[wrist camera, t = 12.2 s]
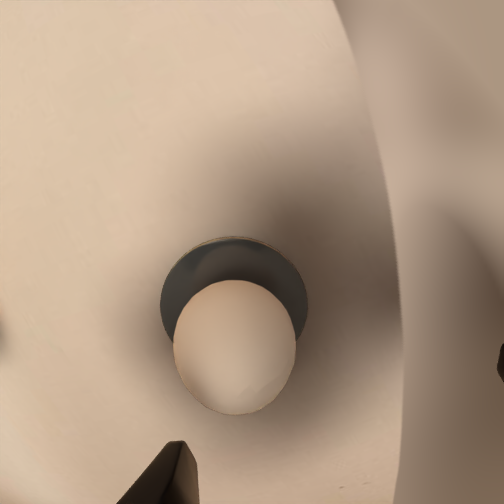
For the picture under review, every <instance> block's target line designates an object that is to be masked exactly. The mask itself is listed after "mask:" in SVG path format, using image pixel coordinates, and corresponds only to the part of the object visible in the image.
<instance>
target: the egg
mask: <svg viewBox="0 0 504 504" xmlns="http://www.w3.org/2000/svg"><path fill="white" fill-rule="evenodd" d="M173 351H174V360H175V363H176V367H177V370H178V372H179V374H180V377H181V379H182V381H183V382H184V384H185V386H186V388H187V389H188V390H189V391H190V392H191V394H192V395H193V396H194V397H195V398H196V399H197V400H198V401H200V402H201V403H202V404H203V405H204V406H205V407H207V408H210V409H212V410H214V411H217V412H219V413H222V414H228V415H242V414H248V413H251V412H255V411H258V410H259V409H261V408H263V407H264V406H266V405H267V404H269V403H270V402H272V401H273V400H274V399H275V398H276V397H277V395H278V394H279V393H280V392H281V390H282V389H283V387H284V386H285V384H286V382H287V380H288V378H289V376H290V373H291V371H292V368H293V366H294V363H295V352H296V341H295V332H294V329H293V325H292V322H291V319H290V317H289V315H288V313H287V310H286V309H285V307H284V306H283V305H282V303H281V302H280V301H279V300H278V299H277V298H276V297H275V296H274V295H273V294H272V293H271V292H269V291H268V290H266V289H265V288H263V287H261V286H259V285H256V284H254V283H251V282H248V281H242V280H225V281H221V282H217V283H213V284H211V285H209V286H207V287H206V288H204V289H203V290H201V291H200V292H198V293H197V294H195V295H194V296H193V297H192V298H191V299H190V301H189V302H188V303H187V304H186V306H185V307H184V308H183V310H182V312H181V314H180V316H179V318H178V321H177V325H176V329H175V333H174V340H173Z"/></svg>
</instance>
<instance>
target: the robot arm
mask: <svg viewBox="0 0 504 504" xmlns="http://www.w3.org/2000/svg"><path fill="white" fill-rule="evenodd" d="M497 371H498V374H499V375H500V377H501V379H502V380H503V382H504V344H502V346H501V349H500V354H499V359H498V363H497ZM116 504H200V502H199V488H198V471H197V463H196V460H195V458H194V456H193V454H192V452H191V451H190V449H189V447H188V445H187V444H186V442H185V441H171V442H168V443H167V444H166V445H165V446H164V448H163V449H162V450H161V451H160V453H159V454H158V455H157V456H156V457H155V459H154V460H153V461H152V462H151V464H150V465H149V466H148V467H147V468H146V470H145V471H144V472H143V473H142V474H141V475H140V477H139V478H138V479H137V480H136V481H135V483H134V484H133V485H132V486H131V487H130V488H129V490H128V491H127V492H126V493H125V494H124V495H123V497H122V498H121V499H120V500H119V501H118V502H117V503H116Z"/></svg>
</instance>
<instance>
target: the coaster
mask: <svg viewBox="0 0 504 504" xmlns="http://www.w3.org/2000/svg"><path fill="white" fill-rule="evenodd" d="M225 280H242V281H248V282H251V283H254V284H256V285H259V286H261V287H263V288H265V289H266V290H268V291H269V292H271V293H272V294H273V295H274V296H275V297H276V298H277V299H278V300H279V301H280V302H281V303H282V305H283V306H284V307H285V309H286V310H287V313H288V315H289V317H290V319H291V322H292V325H293V329H294V332H295V341H297V339H298V337H299V336H300V334H301V332H302V329H303V327H304V324H305V321H306V316H307V295H306V290H305V287H304V284H303V281H302V279H301V277H300V275H299V273H298V272H297V270H296V269H295V267H294V266H293V264H292V263H291V262H290V261H289V260H288V259H287V258H286V257H285V256H284V255H283V254H282V253H280V252H279V251H278V250H276V249H275V248H273V247H271V246H270V245H267V244H265V243H263V242H261V241H257V240H254V239H250V238H244V237H222V238H217V239H213V240H210V241H207V242H204V243H202V244H200V245H198V246H196V247H194V248H192V249H191V250H190V251H188V252H187V253H185V254H184V255H183V256H182V257H181V258H180V259H179V260H178V261H177V262H176V264H175V265H174V266H173V268H172V269H171V271H170V273H169V274H168V276H167V278H166V280H165V283H164V285H163V289H162V293H161V300H160V310H161V317H162V322H163V325H164V327H165V330H166V332H167V334H168V336H169V338H170V339H171V341H172V342H173V340H174V333H175V329H176V325H177V321H178V318H179V316H180V314H181V312H182V310H183V308H184V307H185V306H186V304H187V303H188V302H189V301H190V299H191V298H192V297H193V296H194V295H195V294H197V293H198V292H200V291H201V290H203V289H204V288H206V287H207V286H209V285H211V284H213V283H217V282H221V281H225Z"/></svg>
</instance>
